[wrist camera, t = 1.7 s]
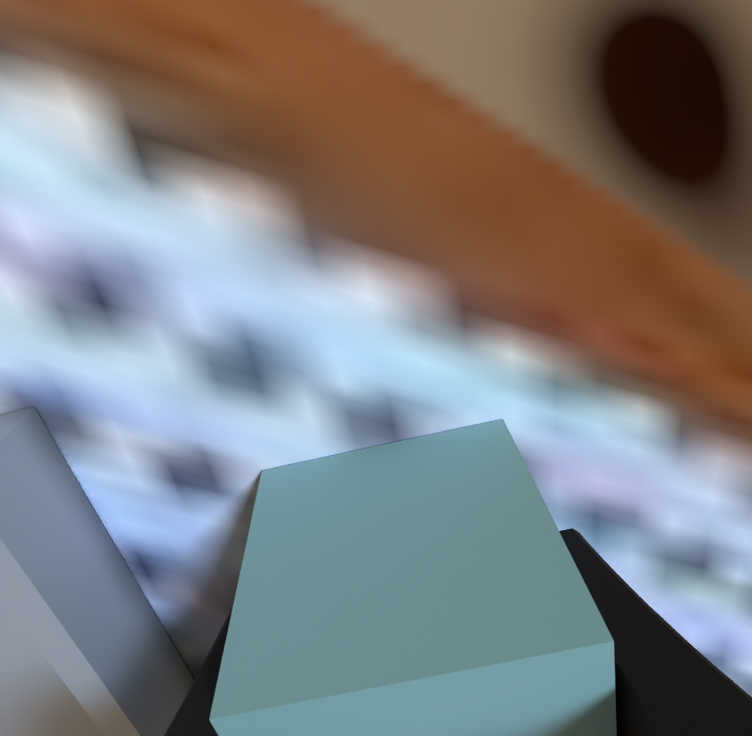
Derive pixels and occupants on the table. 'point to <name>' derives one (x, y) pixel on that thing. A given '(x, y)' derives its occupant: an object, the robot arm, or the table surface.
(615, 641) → the robot arm
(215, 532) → the table surface
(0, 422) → the tray
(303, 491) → the teal block
